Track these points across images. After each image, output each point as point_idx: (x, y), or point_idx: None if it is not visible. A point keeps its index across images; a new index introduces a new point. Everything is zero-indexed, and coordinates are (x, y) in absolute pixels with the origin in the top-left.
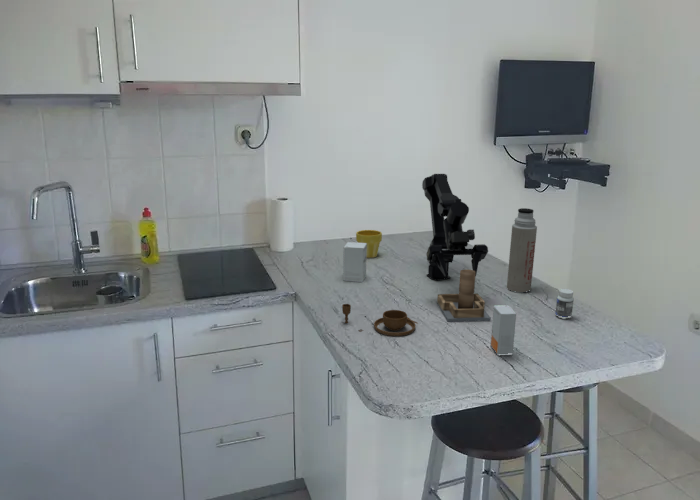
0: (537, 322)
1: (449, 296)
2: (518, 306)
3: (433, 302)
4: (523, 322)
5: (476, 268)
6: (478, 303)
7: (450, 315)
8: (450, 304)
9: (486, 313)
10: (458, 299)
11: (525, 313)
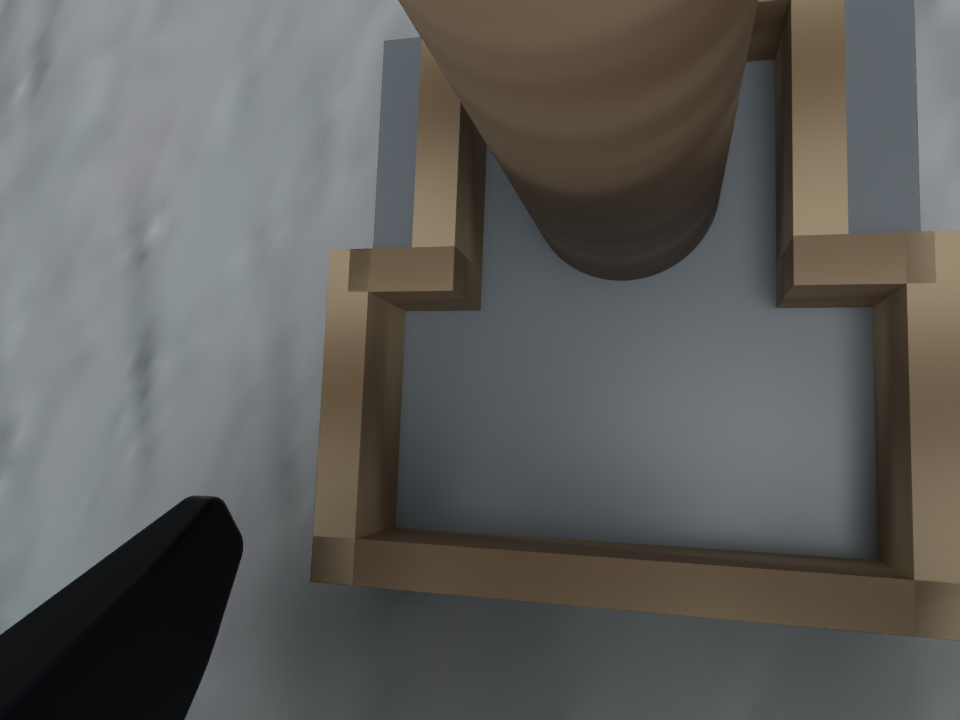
0: (17, 43)
1: (760, 564)
2: (2, 430)
3: (955, 699)
4: (122, 38)
5: (47, 619)
6: (428, 195)
7: (848, 91)
8: (845, 180)
9: (387, 159)
10: (732, 132)
11: (20, 248)
